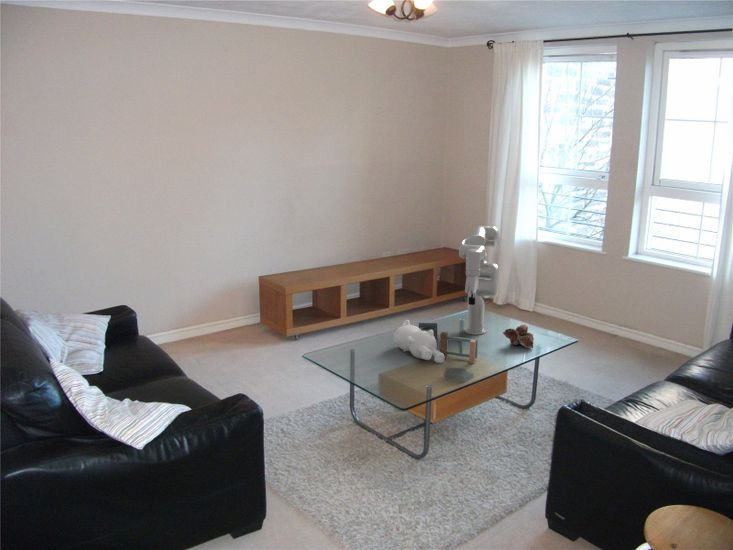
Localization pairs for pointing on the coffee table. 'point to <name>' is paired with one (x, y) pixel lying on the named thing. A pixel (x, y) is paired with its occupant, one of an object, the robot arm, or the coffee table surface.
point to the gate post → (443, 343)
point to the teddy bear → (418, 342)
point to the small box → (429, 328)
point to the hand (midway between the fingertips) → (471, 304)
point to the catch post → (472, 351)
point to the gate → (461, 346)
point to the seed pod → (520, 336)
